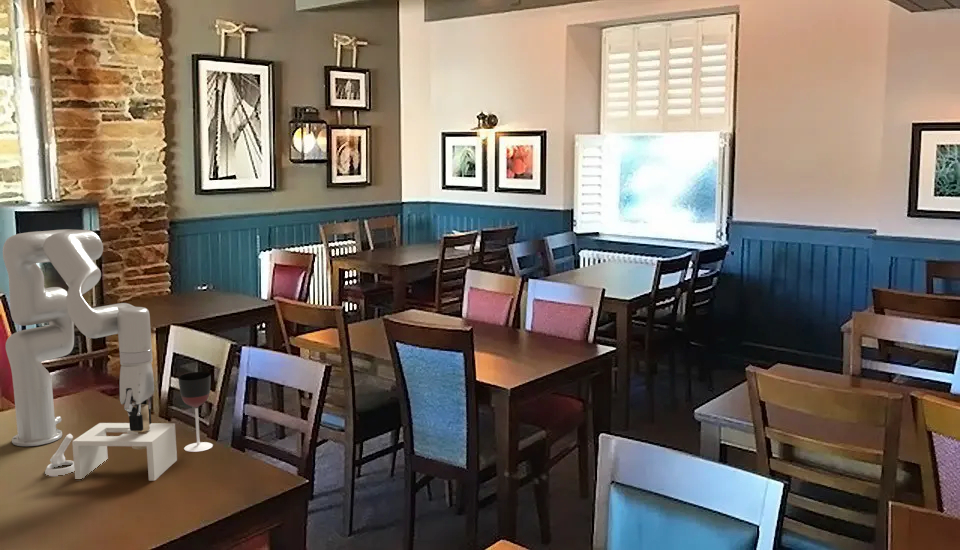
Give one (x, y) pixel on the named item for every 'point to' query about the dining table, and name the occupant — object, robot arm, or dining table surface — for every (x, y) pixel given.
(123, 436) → the keyhole shelf
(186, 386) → the wineglass
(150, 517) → the dining table surface
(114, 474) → the dining table surface
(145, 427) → the peg
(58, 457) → the hook
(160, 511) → the dining table surface
